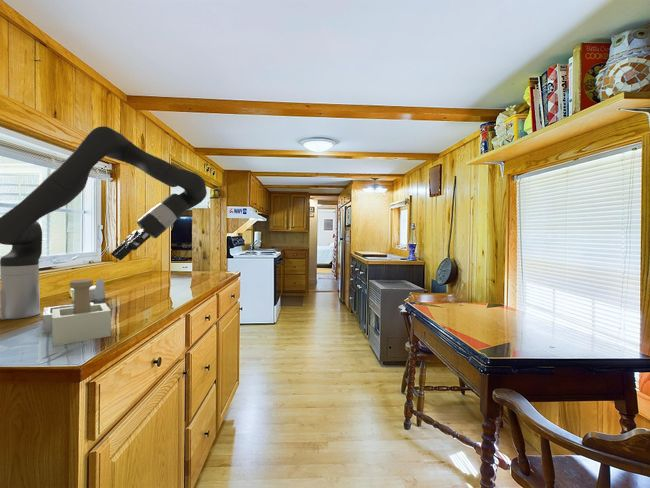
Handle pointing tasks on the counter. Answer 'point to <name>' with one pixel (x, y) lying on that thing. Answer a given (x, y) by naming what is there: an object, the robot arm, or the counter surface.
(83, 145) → the robot arm
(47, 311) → the bore block
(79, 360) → the counter surface
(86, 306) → the handle
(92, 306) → the cradle block
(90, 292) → the ramekin
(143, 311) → the counter surface
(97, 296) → the tapered grey rod
